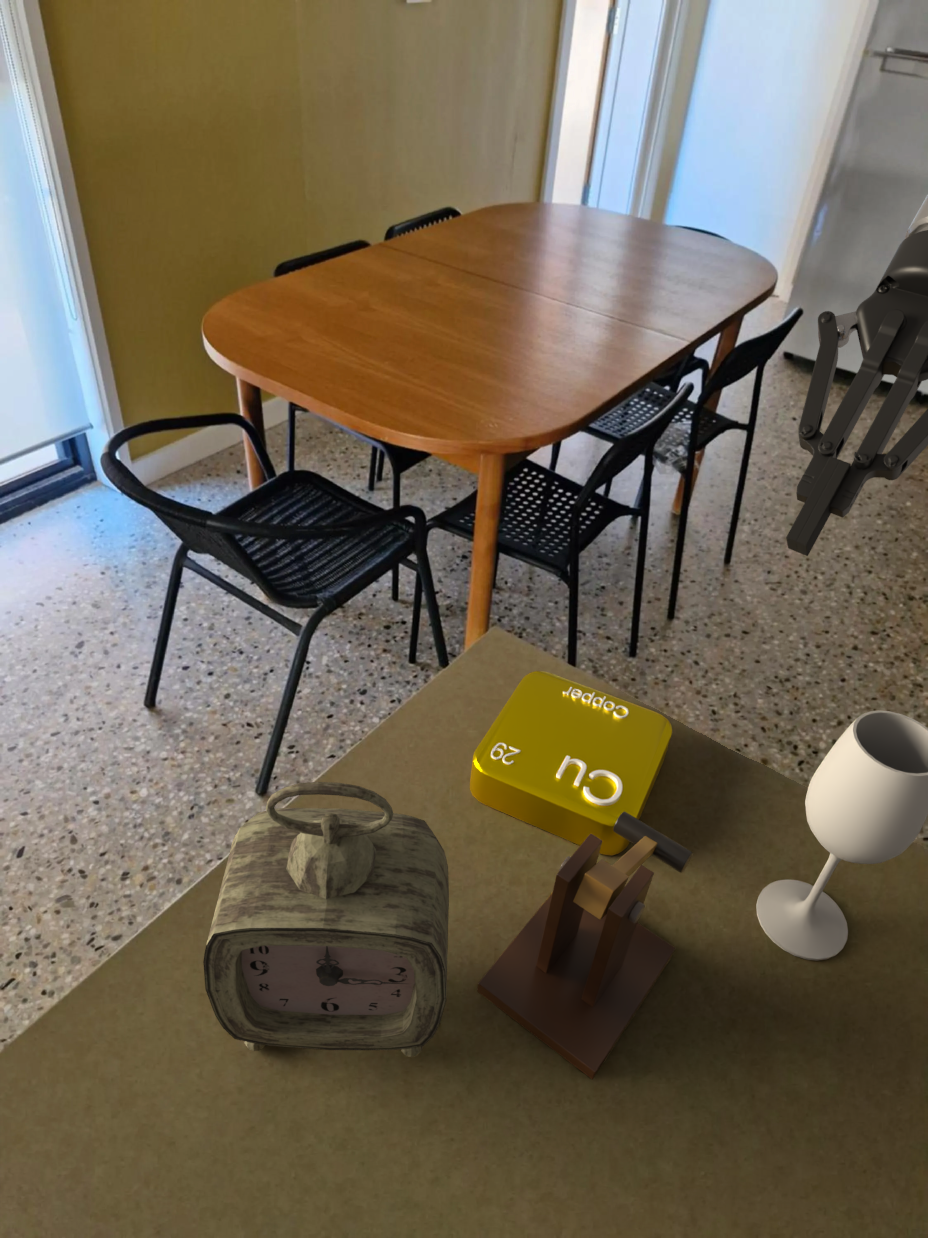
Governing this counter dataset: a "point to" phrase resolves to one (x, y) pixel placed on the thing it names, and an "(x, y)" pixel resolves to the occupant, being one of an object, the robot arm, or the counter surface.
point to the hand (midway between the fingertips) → (797, 546)
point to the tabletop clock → (331, 928)
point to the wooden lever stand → (579, 966)
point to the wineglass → (852, 825)
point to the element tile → (570, 759)
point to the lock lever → (627, 864)
